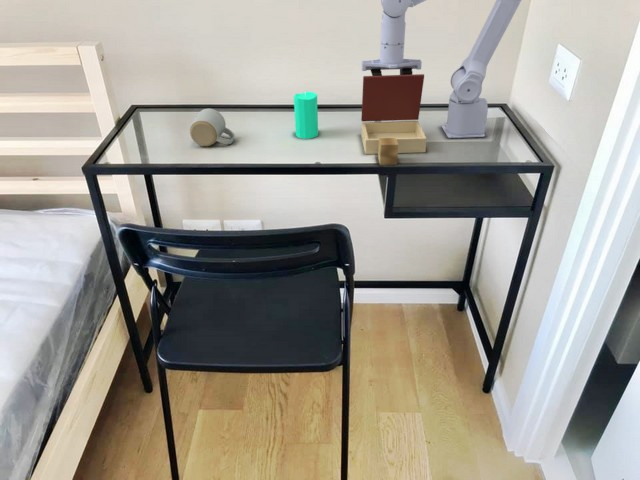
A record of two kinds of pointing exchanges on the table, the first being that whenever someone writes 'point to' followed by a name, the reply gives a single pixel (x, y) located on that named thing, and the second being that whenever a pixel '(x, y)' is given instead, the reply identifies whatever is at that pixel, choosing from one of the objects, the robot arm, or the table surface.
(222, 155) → the table surface
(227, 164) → the table surface
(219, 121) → the ceramic mug
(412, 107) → the cover
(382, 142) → the block
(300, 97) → the candle
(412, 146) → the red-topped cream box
